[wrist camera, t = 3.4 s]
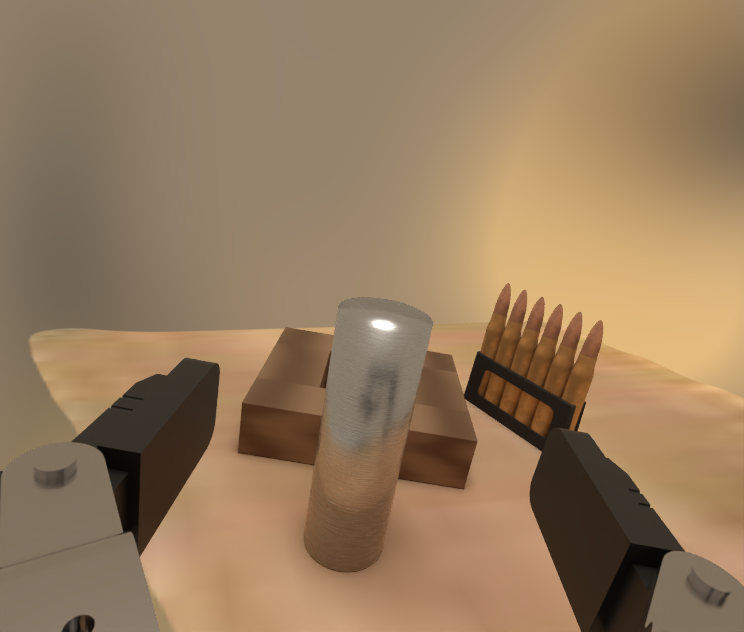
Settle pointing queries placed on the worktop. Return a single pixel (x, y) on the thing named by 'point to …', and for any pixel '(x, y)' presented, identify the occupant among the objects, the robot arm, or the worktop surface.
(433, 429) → the walnut socket block
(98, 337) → the worktop surface
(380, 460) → the steel pin
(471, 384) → the ammunition clip
